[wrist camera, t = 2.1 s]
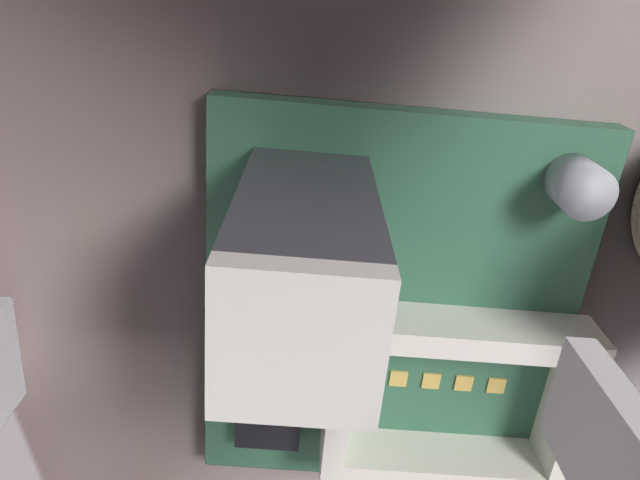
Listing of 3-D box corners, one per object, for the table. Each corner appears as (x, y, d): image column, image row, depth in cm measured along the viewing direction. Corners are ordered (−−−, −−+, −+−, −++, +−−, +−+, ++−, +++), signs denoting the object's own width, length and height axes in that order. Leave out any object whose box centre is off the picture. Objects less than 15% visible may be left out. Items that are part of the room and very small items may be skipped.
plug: (253, 146, 22) (205, 266, 13) (368, 156, 22) (401, 280, 13) (249, 258, 24) (204, 431, 15) (355, 266, 24) (375, 443, 15)
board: (212, 89, 22) (195, 105, 19) (620, 123, 23) (663, 145, 20) (209, 446, 30) (197, 497, 27) (518, 466, 30) (538, 519, 27)
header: (335, 296, 25) (336, 330, 22) (589, 315, 25) (617, 350, 23) (319, 440, 28) (319, 483, 26) (544, 455, 28) (565, 499, 26)
